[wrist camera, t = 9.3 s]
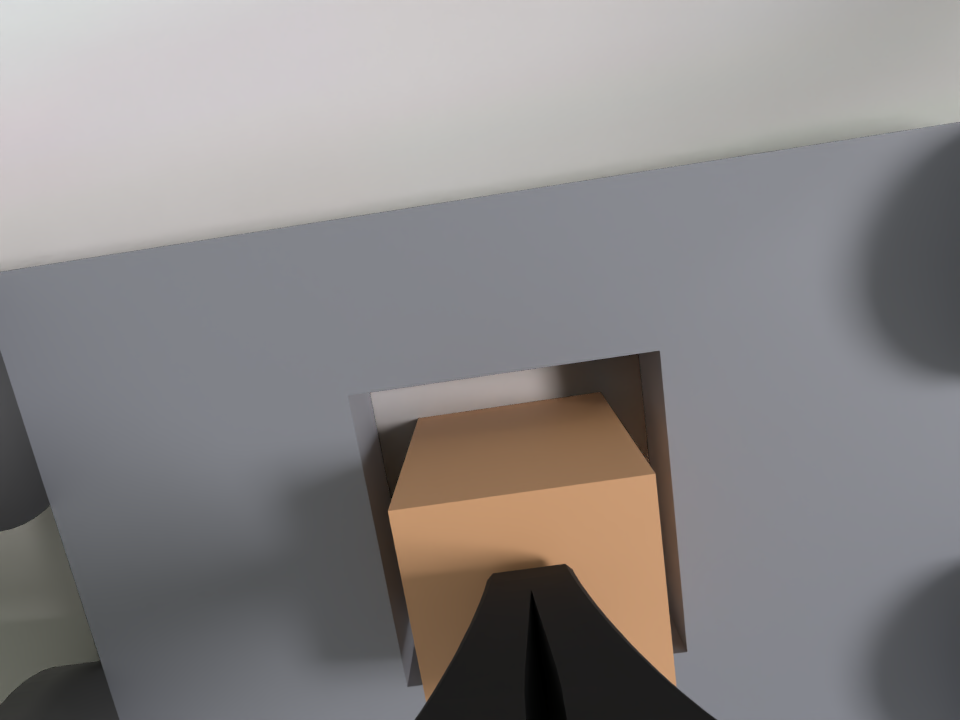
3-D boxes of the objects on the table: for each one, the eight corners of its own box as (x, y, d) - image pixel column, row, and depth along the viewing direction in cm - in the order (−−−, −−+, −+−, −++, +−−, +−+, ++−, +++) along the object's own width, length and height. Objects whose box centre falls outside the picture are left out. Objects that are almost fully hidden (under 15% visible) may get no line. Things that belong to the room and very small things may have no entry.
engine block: (621, 577, 16) (680, 732, 11) (452, 600, 16) (438, 763, 11) (600, 390, 15) (655, 473, 10) (418, 417, 15) (388, 510, 10)
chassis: (1002, 675, 17) (1219, 866, 12) (132, 780, 17) (-4, 998, 13) (1020, 115, 14) (1323, 57, 9) (-31, 279, 14) (-292, 310, 10)
